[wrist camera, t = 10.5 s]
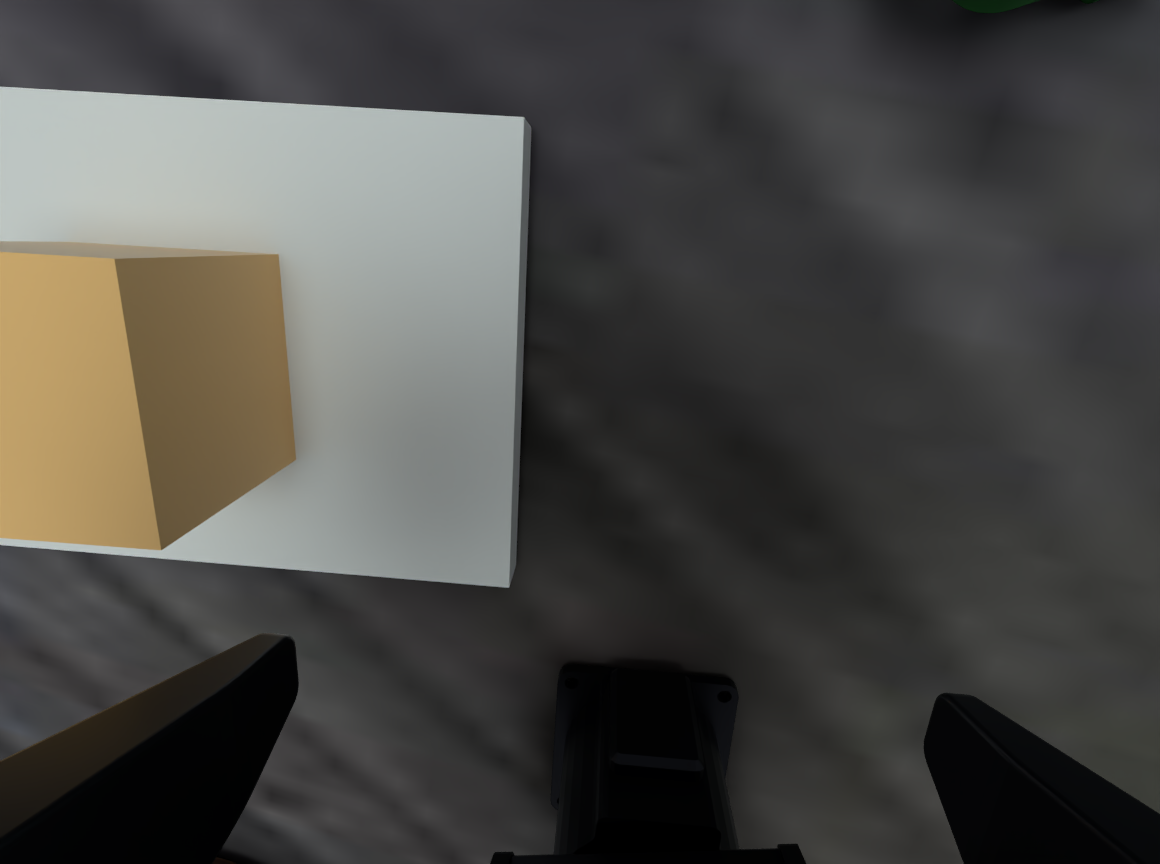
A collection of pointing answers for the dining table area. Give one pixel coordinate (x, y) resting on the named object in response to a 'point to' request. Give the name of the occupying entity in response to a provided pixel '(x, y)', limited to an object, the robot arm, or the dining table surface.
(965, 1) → the clamp
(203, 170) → the plate
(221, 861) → the flowerpot
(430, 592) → the dining table surface
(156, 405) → the cardboard box
